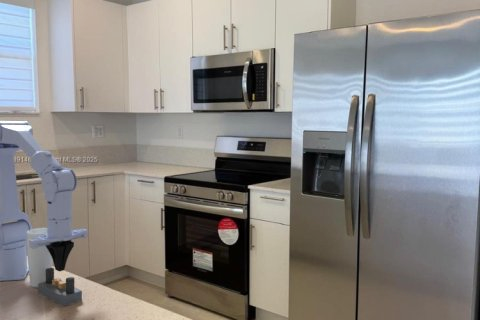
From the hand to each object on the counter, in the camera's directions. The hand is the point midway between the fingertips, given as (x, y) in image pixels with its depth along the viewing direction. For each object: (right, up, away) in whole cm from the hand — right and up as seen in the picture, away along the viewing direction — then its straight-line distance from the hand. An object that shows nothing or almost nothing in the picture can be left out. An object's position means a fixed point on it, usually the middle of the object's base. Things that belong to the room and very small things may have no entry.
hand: (59, 269), depth 107 cm
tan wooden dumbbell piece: (0, -4, 0) cm, 4 cm away
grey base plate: (0, -7, +1) cm, 7 cm away
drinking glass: (-9, -6, +8) cm, 13 cm away
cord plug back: (-4, -4, +3) cm, 7 cm away
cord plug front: (+4, -5, -2) cm, 7 cm away
